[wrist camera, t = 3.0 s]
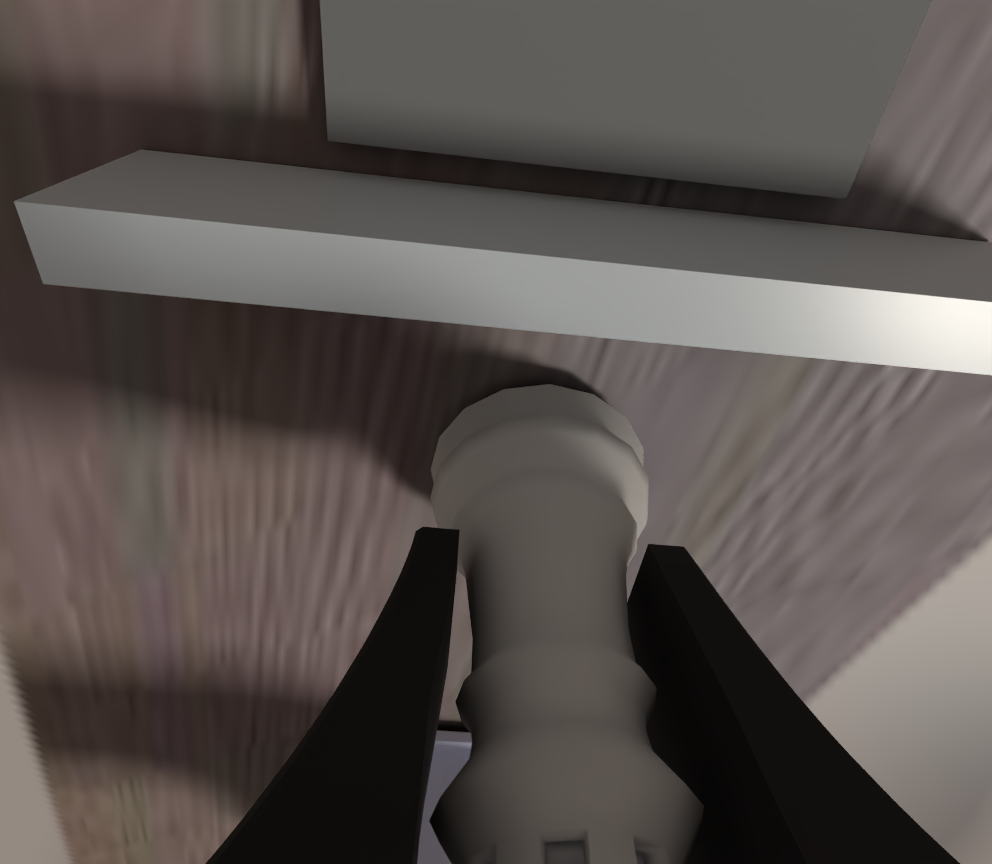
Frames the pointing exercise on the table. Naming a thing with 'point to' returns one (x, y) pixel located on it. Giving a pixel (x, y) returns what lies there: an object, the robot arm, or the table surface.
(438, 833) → the rook chess piece
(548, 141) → the charcoal pad
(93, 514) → the table surface
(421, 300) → the grey acrylic wall
